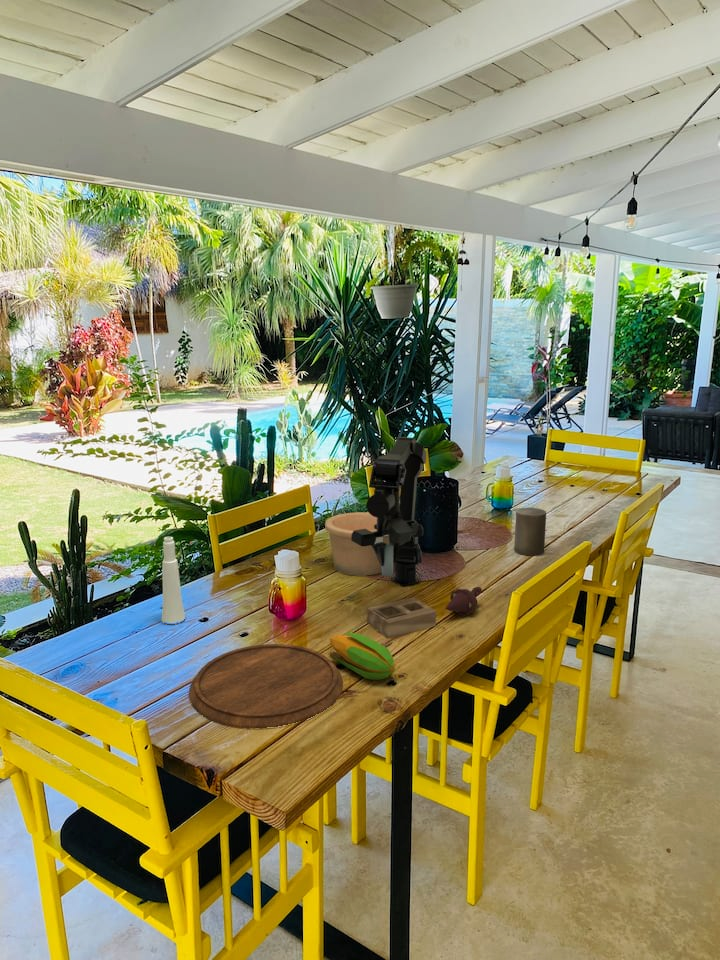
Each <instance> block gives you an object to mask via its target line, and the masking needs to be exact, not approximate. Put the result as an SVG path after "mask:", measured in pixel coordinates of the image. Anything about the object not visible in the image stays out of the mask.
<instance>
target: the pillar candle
mask: <svg viewBox="0 0 720 960" xmlns="http://www.w3.org/2000/svg"><path fill="white" fill-rule="evenodd" d="M546 525H547V511H546V510H544V509H543V508H542V509H541V508H537V507H536V508H535V507H521V508H517V509H516V510H515V526H514V544H513V545H514V546H513V547H514V548H513V551H514V552H515V553H517V554H519V555H523V556H530V557H534V556H535V557H536V556H541V555H543V554H544V553H545V546H546V545H545V544H546V543H545V542H546Z"/></svg>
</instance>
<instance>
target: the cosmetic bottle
mask: <svg viewBox="0 0 720 960" xmlns="http://www.w3.org/2000/svg"><path fill="white" fill-rule="evenodd" d="M162 548H163V560H162V564H161V565H162V570H161V571H162V611H161V612H162V613H161V619H162V621H163V622H167V623H176V622H180V621H182V620H184V619H185V617H186V614H185V610H184V602H183V597H182V590H181V581H180V580H181V579H180V571H179V562H178V558H176V544H175V540H174V537H173V536H165V537H163V541H162ZM185 620H186V619H185ZM162 621H161V622H162Z"/></svg>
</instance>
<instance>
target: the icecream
mask: <svg viewBox="0 0 720 960" xmlns="http://www.w3.org/2000/svg"><path fill="white" fill-rule="evenodd" d="M481 593H482V587H480V586H476V587H475V586H474V588H472V590H469V589H468V588H458V589H456V590H454V591H451V593H450V597H449V599H450V601H449V602H448V604H447V605H446V606H445V610H447V611H453V612H456V614H458V615H461V616H463V617H466V616H468V615H470V614H471V613H472V612H474V610H475V608H476V607H477V605H478V598H477V596H479V595H480V594H481Z"/></svg>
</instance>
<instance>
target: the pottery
mask: <svg viewBox="0 0 720 960" xmlns="http://www.w3.org/2000/svg"><path fill="white" fill-rule="evenodd" d="M324 523H325V525H324V526H325V529H324V530H326V531H327V532H328V535H329V540H330V545H331V554H332V560H333V568H334V569H335V570H336V571H337V572H338V573H341V574H344V575H348V576H356V577H367V575H370V576H374V574H375V575H379V574H382V566H381V565H380V563H379V561H378V558H377V556H376V554H375V552H374V549H373V548H372V546H371V545H370V546H360V545H358V544H357V543H355V542H353V541H351V535H352V533H353V531H354V530H360V529H367V530H369V531H371V532H374V531H377V529H375V528H374V525H375V524H377V517H374V516H372V515H371V514H370V513H369V512H364V511H363V512H362V511H358V512H357V511H356V512H347V513H340V514H336V515H334V516H331V517H328V518H327V519H326V520H325V522H324ZM383 542H384V543H389V537H384V538H383ZM378 573H379V574H378Z"/></svg>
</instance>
